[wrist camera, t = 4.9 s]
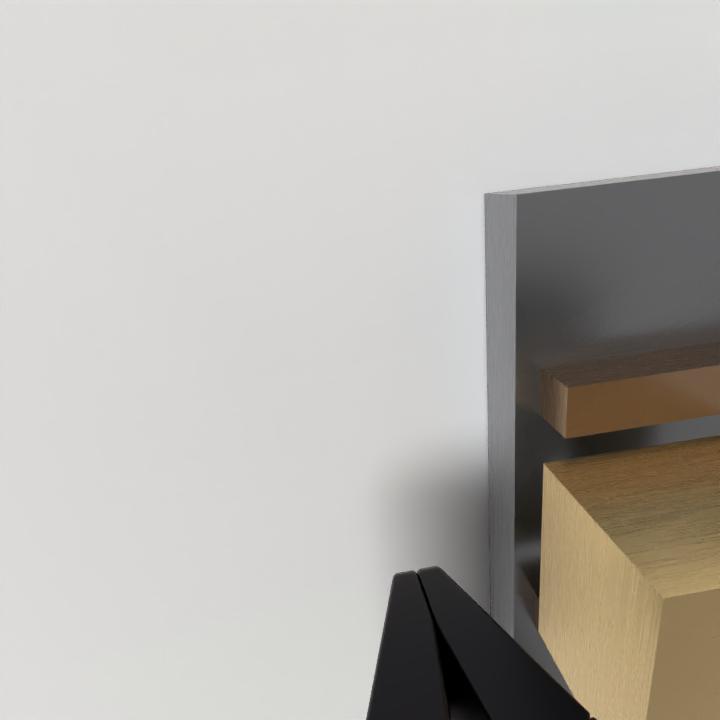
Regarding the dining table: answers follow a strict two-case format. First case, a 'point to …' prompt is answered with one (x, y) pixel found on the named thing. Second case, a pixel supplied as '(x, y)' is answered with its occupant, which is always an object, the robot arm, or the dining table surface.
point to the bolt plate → (591, 347)
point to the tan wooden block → (635, 580)
